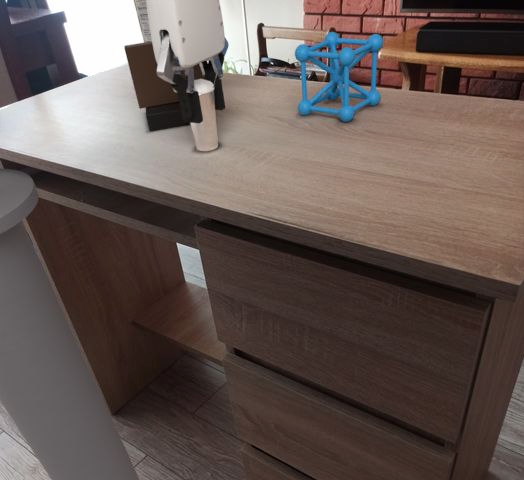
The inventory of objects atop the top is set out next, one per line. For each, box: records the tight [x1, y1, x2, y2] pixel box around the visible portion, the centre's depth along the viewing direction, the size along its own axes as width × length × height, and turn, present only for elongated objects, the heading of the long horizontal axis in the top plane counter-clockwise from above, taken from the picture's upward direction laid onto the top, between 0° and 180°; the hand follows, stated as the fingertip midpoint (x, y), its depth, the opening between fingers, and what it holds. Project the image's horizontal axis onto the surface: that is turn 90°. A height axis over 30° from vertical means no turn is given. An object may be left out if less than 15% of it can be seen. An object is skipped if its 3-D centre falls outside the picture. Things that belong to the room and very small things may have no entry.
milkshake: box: [190, 72, 219, 152], centre depth 73 cm, size 4×5×10 cm
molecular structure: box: [294, 31, 384, 123], centre depth 80 cm, size 10×10×10 cm
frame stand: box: [145, 102, 191, 132], centre depth 88 cm, size 10×10×2 cm
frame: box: [123, 41, 205, 109], centre depth 84 cm, size 12×2×9 cm, turn 102°
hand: (204, 113), depth 74 cm, fingers closed on milkshake, 4 cm apart
